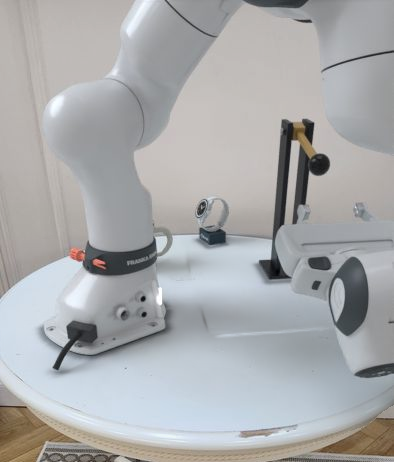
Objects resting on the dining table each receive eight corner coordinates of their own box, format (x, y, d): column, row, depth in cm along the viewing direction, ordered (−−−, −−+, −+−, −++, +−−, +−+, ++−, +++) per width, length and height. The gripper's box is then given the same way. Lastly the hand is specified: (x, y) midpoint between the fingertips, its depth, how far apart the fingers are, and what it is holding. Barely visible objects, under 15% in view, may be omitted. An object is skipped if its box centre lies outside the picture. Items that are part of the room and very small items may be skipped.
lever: (330, 179, 90) (335, 158, 87) (310, 180, 89) (313, 159, 87) (302, 137, 102) (305, 118, 99) (284, 138, 101) (287, 118, 99)
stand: (310, 279, 111) (329, 124, 95) (268, 282, 110) (280, 125, 94) (297, 262, 119) (313, 116, 103) (258, 265, 118) (268, 117, 102)
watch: (192, 241, 130) (191, 196, 124) (221, 236, 133) (222, 192, 127) (202, 249, 126) (202, 202, 120) (232, 243, 129) (233, 198, 123)
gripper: (427, 260, 77) (400, 189, 84) (291, 267, 75) (273, 194, 81) (409, 285, 83) (384, 217, 89) (282, 292, 81) (266, 222, 87)
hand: (330, 206), depth 85 cm, fingers open, 8 cm apart
